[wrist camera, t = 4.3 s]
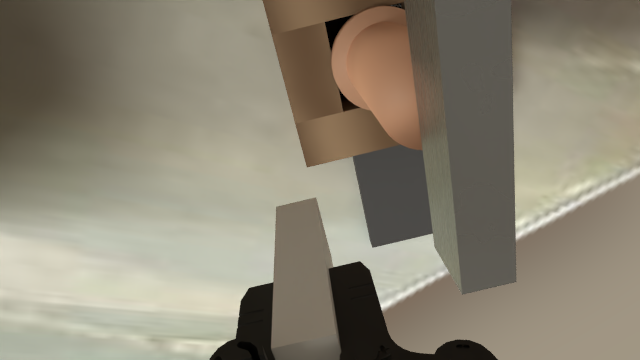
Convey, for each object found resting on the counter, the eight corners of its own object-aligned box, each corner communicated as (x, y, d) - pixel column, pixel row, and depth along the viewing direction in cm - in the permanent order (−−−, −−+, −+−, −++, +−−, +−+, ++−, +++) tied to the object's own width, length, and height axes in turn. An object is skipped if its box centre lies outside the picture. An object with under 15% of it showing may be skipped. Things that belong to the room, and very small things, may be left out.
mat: (370, 241, 36) (372, 247, 35) (350, 147, 32) (352, 152, 31) (471, 217, 36) (476, 223, 35) (464, 120, 32) (469, 124, 31)
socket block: (304, 146, 32) (320, 270, 18) (238, -105, 25) (182, -219, 11) (456, 109, 31) (592, 206, 18) (435, -156, 24) (635, -340, 11)
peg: (333, 99, 30) (370, 181, 18) (315, 14, 28) (343, 39, 15) (413, 80, 30) (507, 148, 18) (402, -8, 28) (503, -1, 15)
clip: (416, 251, 18) (440, 299, 15) (344, -229, 11) (365, -300, 8) (498, 231, 18) (538, 276, 15) (479, -264, 11) (545, -349, 8)
